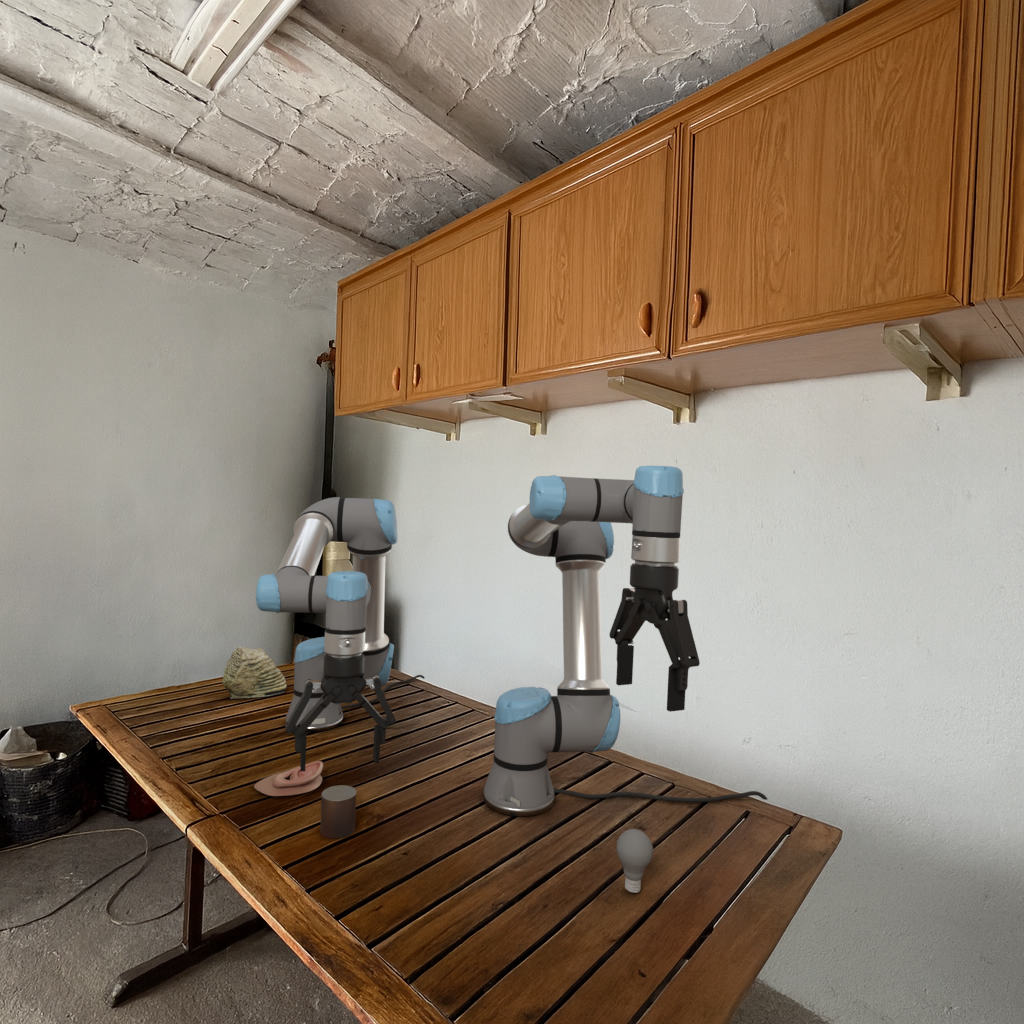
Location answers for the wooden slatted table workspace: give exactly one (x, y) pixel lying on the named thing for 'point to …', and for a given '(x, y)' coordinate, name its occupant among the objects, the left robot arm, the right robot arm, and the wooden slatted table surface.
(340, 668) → the left robot arm
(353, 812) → the can
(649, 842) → the light bulb
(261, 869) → the wooden slatted table surface
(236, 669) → the fossil
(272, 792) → the anatomical model
